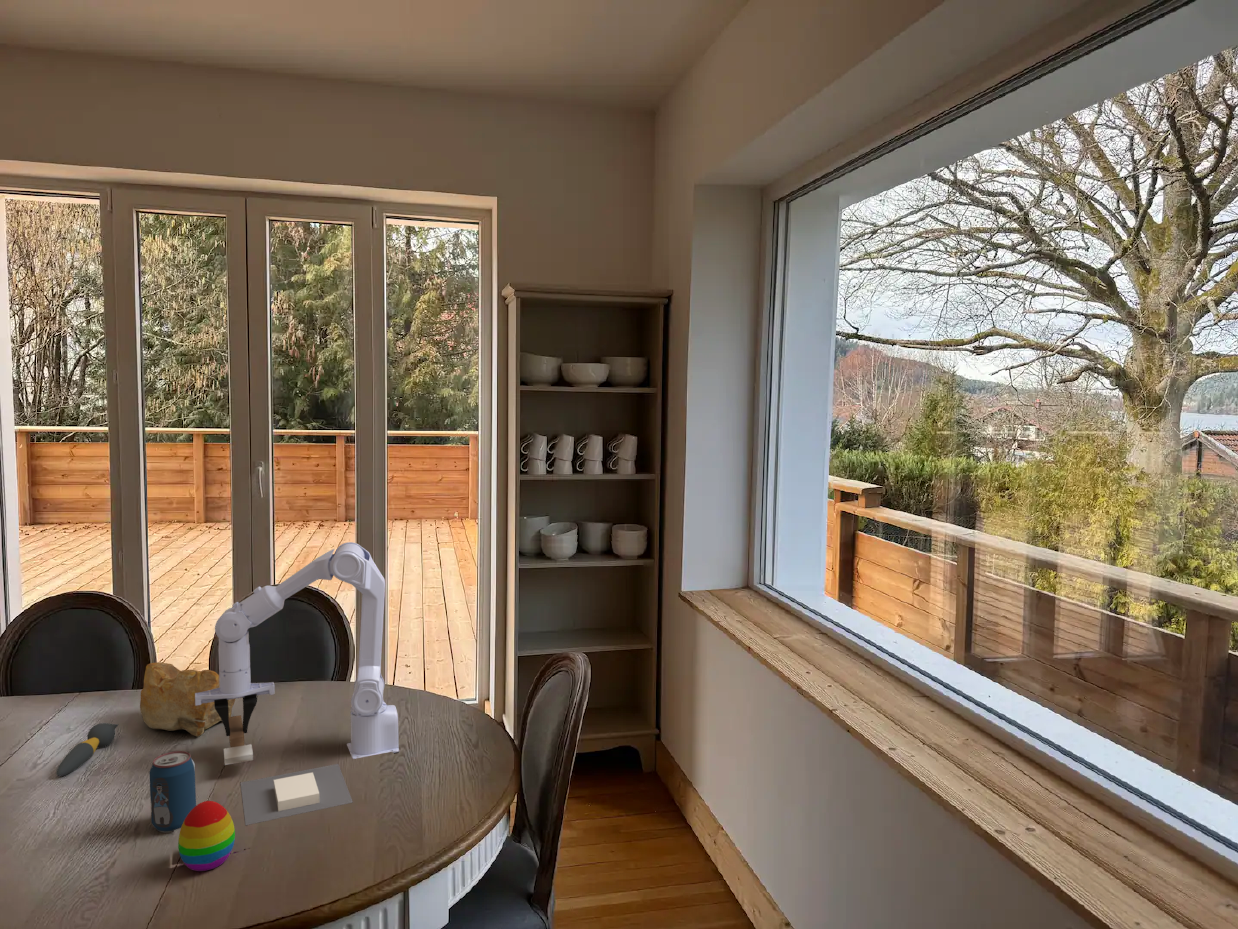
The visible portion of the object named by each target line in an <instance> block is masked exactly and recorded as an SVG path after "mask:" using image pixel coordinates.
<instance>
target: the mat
mask: <svg viewBox="0 0 1238 929" xmlns="http://www.w3.org/2000/svg"><path fill="white" fill-rule="evenodd" d="M312 772H313V774H314V778H315V781H316V784H317V787H318V791H319V803H316V804H311V805H306V806H301V807H297V808H292V809H287V810H282V811H278V807H277V802H276V797H275V792H274V780H276V779H281V778H286V777H291V776H297V775H302V774H307V773H312ZM348 788H349V787H348V785H347V783H346V781H345V777H344V775H343V773H342V770H341V767H340V765H339V763H335V764H330V765H326V766H325V765H324V766H319V767H315V768H309V769H304V770H299V771H293V772H288V773H283V774H282V773H281V774H278V775H273V776H267V777H261V778H258V779H257V778H256V779H251V780H246V781H242V782H240V790H241V799H242V800H241V801H242V807H243V813H244V814H243V816H244V824H245V826H249V825H255V824H258V823H264V822H267V821H268V822H269V821H274V820H277V819H283V818H287V817H291V816H292V817H293V816H297V815H301V814H305V813H310V812H311V813H312V812H315V811H320V810H324V809H325V810H326V809H330V808H333V807H338V806H343V805H347V804H352V803H354V801H353V799H352V796H351V793H350V791H349V789H348Z"/></svg>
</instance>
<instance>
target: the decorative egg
mask: <svg viewBox="0 0 1238 929" xmlns="http://www.w3.org/2000/svg"><path fill="white" fill-rule="evenodd" d="M232 818H233V817H232V816H231V814H230V812H228V810H227V809H226V808H225V807H224V806H223V805H222V804H220V803H218V802H216V801H213V800H205V801H202V802H200V803H198V804H196V806H195V807H194V808H193V809H192V810H191V811H190V813H189V814H188V815H187V817H186V818H185V820H184V822H183V824H182V827H181V828H180V830H179V835H178V840H177V841H178V842H177V843H178V844H177V847H178V853H179V856H180V859H181V860H182V862H183V864H184V865H185V866H186V867H187V868H188V869H190V870H192V871H196V872H204V871H205V872H206V871H209V870H213V869H215V868H218V867H220V866H221V865H222V864H224V863H225V862H226V860H227V859H228V857H229V856H230V854H231V853H232V850H233V849H234V846H235V840H236V831H235V830H236V829H235V823H234V821H233V819H232Z"/></svg>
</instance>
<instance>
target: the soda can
mask: <svg viewBox="0 0 1238 929" xmlns="http://www.w3.org/2000/svg"><path fill="white" fill-rule="evenodd" d="M195 768H196V766H195V761H194V760H193V759H192V756H191V754H190V753H189V752H188V751H183V750H174V751H169V752H166V753H162V754H160V755H159V756H158V755H157V757H155V758H154V759H153V761H152V765H151V767H150V769H149V774H148V775H149V792H150V793H149V795H150V796H149V798H150V822H151V825H152V826H153V827H154V829H156V830H157V831H158V832H159V833H165V834H166V833H167V834H168V833H174V831H175V830H178V829H181V827H182V824H183V822H184V820H185V818H186V817H187V815H188V814H189V813H190V811H191V810H192V809H193V808H194V807H195V806H197V797H196V796H197V794H196V793H197V791H196V770H195Z"/></svg>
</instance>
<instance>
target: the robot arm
mask: <svg viewBox="0 0 1238 929" xmlns="http://www.w3.org/2000/svg"><path fill="white" fill-rule="evenodd" d="M333 553H334V554H333ZM334 577H335V578H336V579H337V580H339V581H342V582H344V583H346V584H348V585H352V586H353V587H354V588H355V589H356V590H357V591H358V592H360V593H361V594H362V595H361V612H360V628H359V629H360V630H359V631H360V632H359V633H360V634H359V649H358V650H359V651H358V666H357V667H358V669H357V677H356V678H355V681H354V683H353V693H352V695H351V698H350V701H351V702H350V704H351V707H350V742H348V743H346V747H347V748H348V752H349V753H350V756H351V758H352V759H353V760H355V759H360V758H367V757H370V756H375V755H380V754H382V755H383V754H386V753H390V752H391V753H393V754H394V753H395V754H396V753H399V752H400V748H399V714H398V710H397V708H396V705H394V704H390V705H389V704H387V703H386V702H385V700H384V691H385V690H384V689H385V680H384V678H383V676H382V671H381V670H382V648H383V633H384V632H383V630H384V615H385V614H384V612H385V598H386V597H385V593H386V592H385V591H386V579H385V577H384V576H383V575H382V572H381V571H380V569H379V567H378V566H377V565H376V563H375V562H374V559H373V558H372V555H371V553H370V551H368V550H366V548H364V547H362V545H360V543H359V544H358V543H356V542H353V541H348V542H344V543H342V544H340V545H339V546H338V547H337V548H336V550H335V548H333V549H331V550H328V551H326V552H325V553H323V554H322V555H320V556H318V557H316V558H315V559H314V560H312V561H311V562H309V563H307V565H304V566H303V567H302V568H300V569H299V570H298V571H296V572H295V573H294V574H292V575H291V576H290V577H288V578H286V579H285V580H284V581H282V582H281V583H279V584H277V585H276V586H274V585H265V586H263V587H261V586H257V587H256V588H254V589H253V591H252V592H253V593H252V594H251V595H249V596H248V597H246V598H244V599H243V600H241V601H240V602H239V601H236V602H234V603H233V604H232V607H230V608H227V609H226V610H225V611H223V613H222V614H221V616H220V617H219V618H218V619H217V621H216V622H215V625H214V626H215V627H214V631H215V635H216V637H217V638H218V648H217V650H218V651H217V652H218V675H219V684H220V688H216V689H212V690H208V691H204V692H199V693H195V706H197V705H201V704H202V703H209V702H214V706H215V709H216V711H217V713H218V714H219V716H220V718H221V720H222V721H221V722H222V724H223V726H224V727H223V728H224V731H225V737H229V736H230V727H229V711H228V700H229V699H235V700H237V699H242V709H243V710H242V714H243V716H242V725H243V732H244V734H247V733H248V730H249V729H248V728H249V723H250V719H251V716H252V714H253V712H254V710H255V708H256V706H257V703H258V696H262V695H269V696H270V695H275V693H276V691H275V689H276V688H275V687H276V686H275V683H274V681H271V682H257V683H256V682H251V680H252V679H251V647H250V646H251V645H250V642H249V640H250V639H249V638H250V635H249V629H250V628H254V627H257V626H259V625H260V624H262V623H263V622H264V621H266V620H267V619H269V618H270V617H272V616H274V615H275V614H277V613H278V612H280V611H282V610H283V609H284V605H285V600H287V599H288V598H290V597H291V596H293V595H295V594H296V593H298V592H300V591H302V590H303V589H304V588H306V587H307V586H309V585H311V584H312V583H315V582H317V580H318V581H319V580H326V581H331V580H333V578H334Z"/></svg>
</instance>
